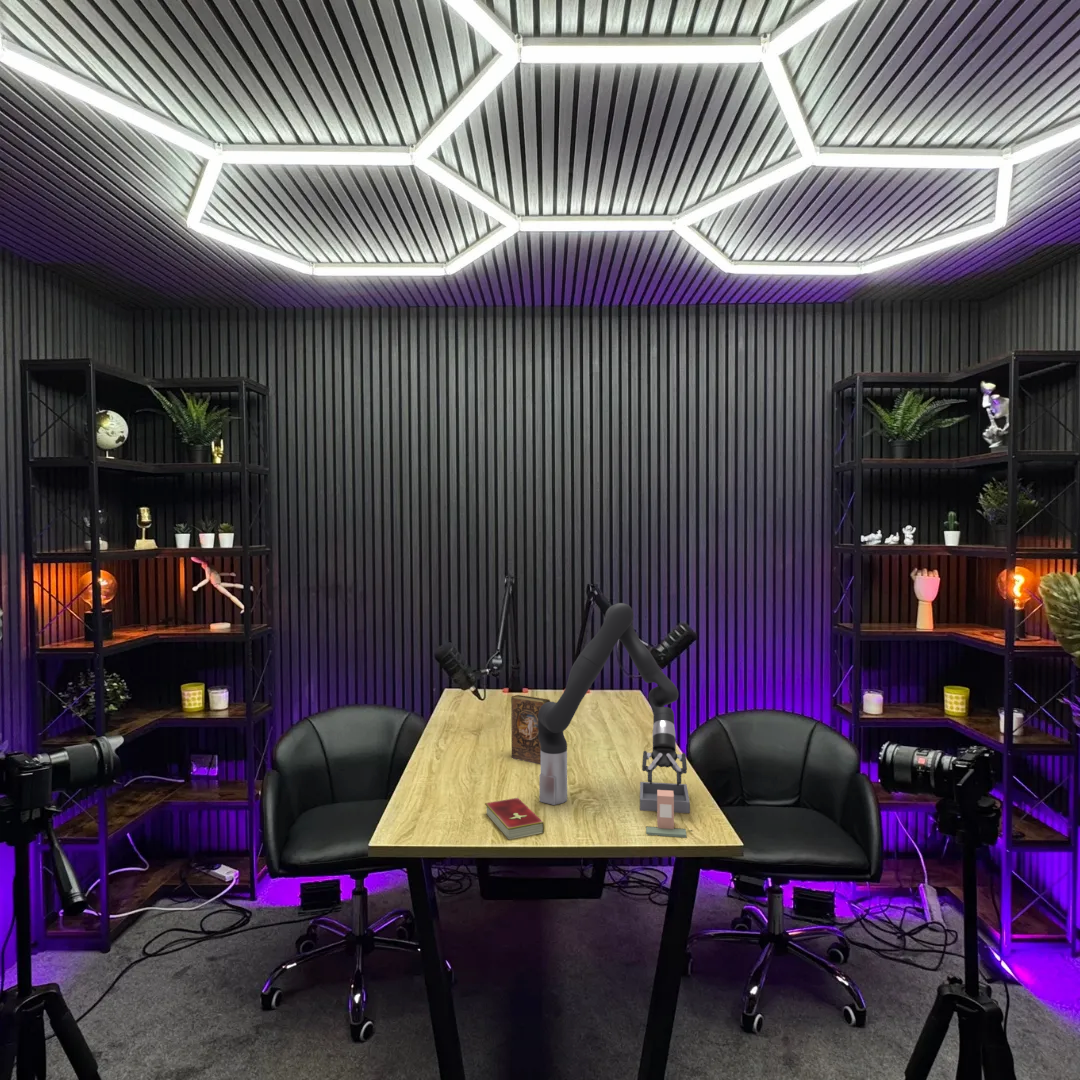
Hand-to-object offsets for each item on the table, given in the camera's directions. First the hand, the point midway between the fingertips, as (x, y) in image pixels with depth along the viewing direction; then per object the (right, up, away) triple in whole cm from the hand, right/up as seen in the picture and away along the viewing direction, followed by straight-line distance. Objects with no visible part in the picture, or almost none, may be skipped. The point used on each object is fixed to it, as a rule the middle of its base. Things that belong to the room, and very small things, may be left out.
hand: (664, 783), depth 214 cm
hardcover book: (-48, -13, -1) cm, 50 cm away
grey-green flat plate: (0, -12, -4) cm, 13 cm away
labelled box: (-1, -11, -4) cm, 12 cm away
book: (-44, -12, +60) cm, 75 cm away
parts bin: (+2, -12, +13) cm, 18 cm away
